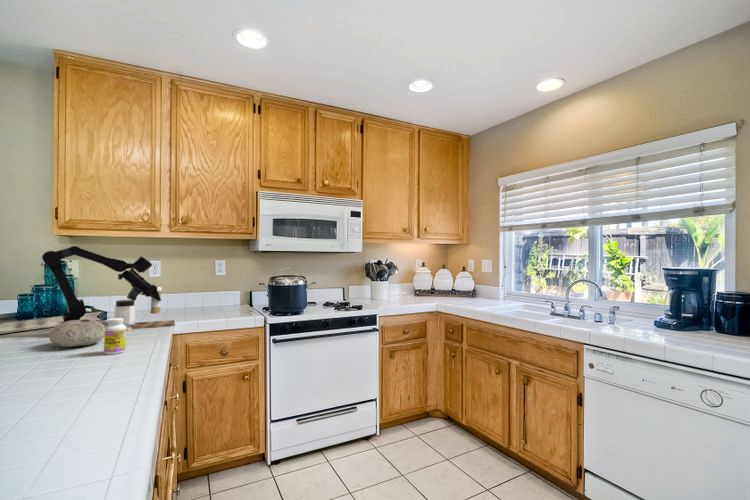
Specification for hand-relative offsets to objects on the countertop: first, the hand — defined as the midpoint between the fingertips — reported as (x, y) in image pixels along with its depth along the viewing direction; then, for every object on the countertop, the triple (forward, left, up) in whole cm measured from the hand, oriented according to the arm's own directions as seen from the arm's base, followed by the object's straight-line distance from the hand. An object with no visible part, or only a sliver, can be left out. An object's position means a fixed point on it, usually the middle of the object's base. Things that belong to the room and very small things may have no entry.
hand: (159, 300), depth 187 cm
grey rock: (-42, +1, -14) cm, 44 cm away
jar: (+1, +21, -13) cm, 25 cm away
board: (0, +2, -13) cm, 13 cm away
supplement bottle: (-48, -22, -13) cm, 55 cm away
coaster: (-16, +8, -13) cm, 22 cm away
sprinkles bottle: (-1, +1, -7) cm, 7 cm away
